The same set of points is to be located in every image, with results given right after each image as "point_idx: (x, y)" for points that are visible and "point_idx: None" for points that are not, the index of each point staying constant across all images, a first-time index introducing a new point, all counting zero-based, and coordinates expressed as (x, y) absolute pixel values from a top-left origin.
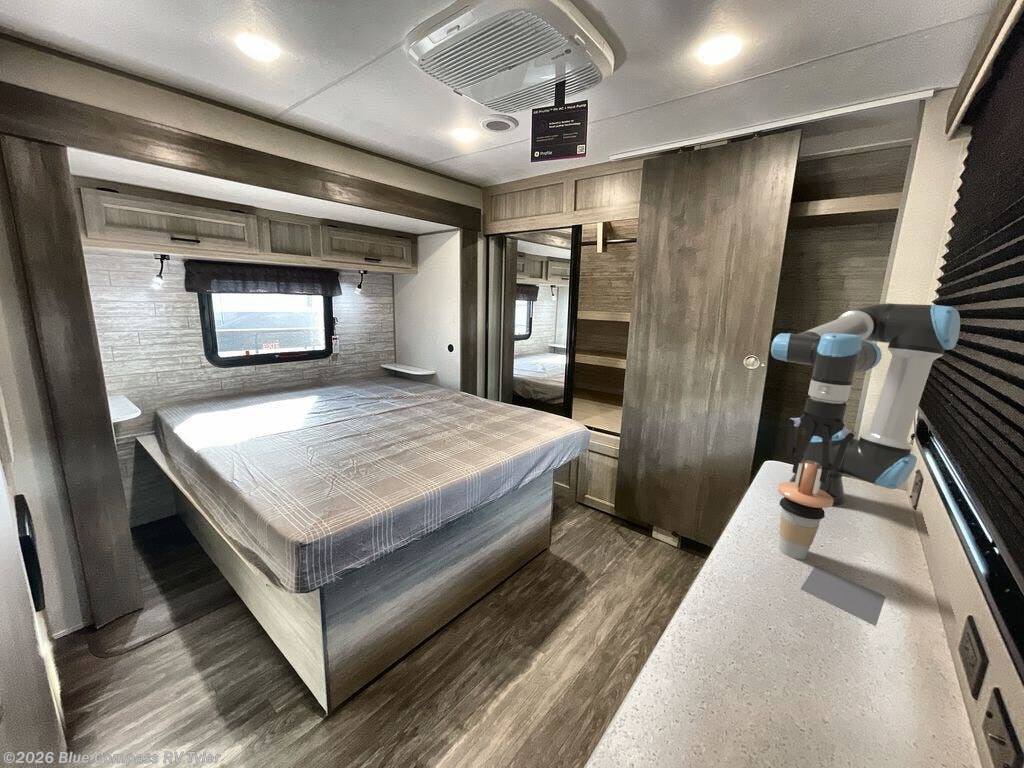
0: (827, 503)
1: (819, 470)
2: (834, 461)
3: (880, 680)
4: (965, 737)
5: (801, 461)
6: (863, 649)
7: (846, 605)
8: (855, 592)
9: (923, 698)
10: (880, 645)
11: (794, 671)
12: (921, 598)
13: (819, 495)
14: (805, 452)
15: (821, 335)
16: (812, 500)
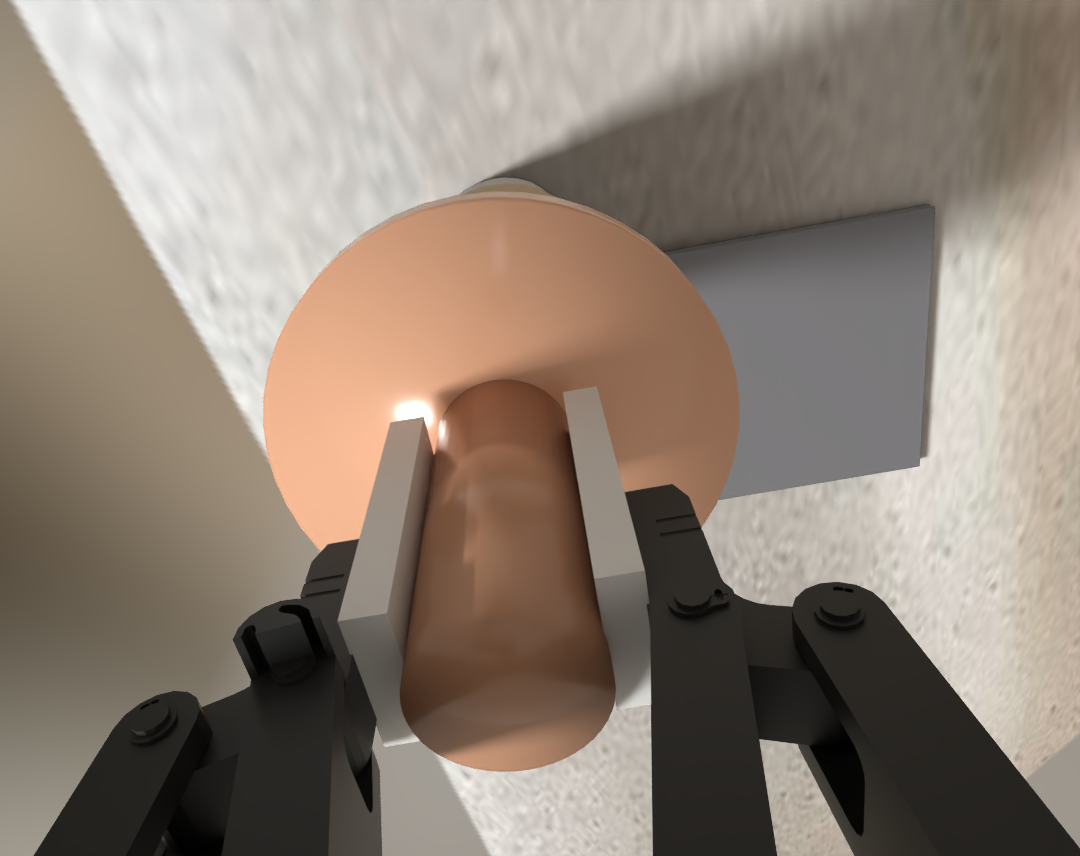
0: (718, 480)
1: (636, 691)
2: (854, 846)
3: (948, 659)
4: None
5: (353, 659)
6: (897, 590)
7: (819, 446)
8: (827, 315)
9: (1041, 625)
10: (937, 527)
11: (778, 798)
12: (1076, 5)
13: (611, 380)
14: (335, 769)
15: None
16: None
